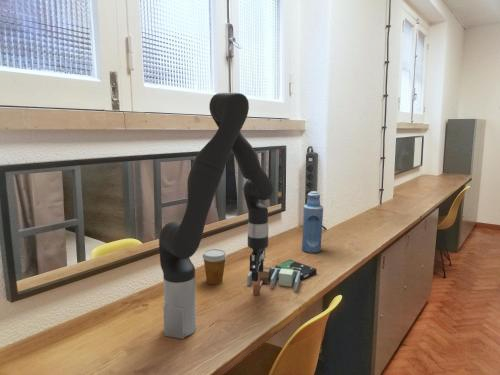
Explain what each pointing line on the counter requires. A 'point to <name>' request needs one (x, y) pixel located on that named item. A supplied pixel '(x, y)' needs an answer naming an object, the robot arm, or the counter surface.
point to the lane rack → (276, 275)
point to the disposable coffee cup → (214, 265)
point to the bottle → (312, 224)
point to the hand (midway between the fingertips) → (257, 275)
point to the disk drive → (298, 268)
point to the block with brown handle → (262, 279)
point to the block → (286, 277)
